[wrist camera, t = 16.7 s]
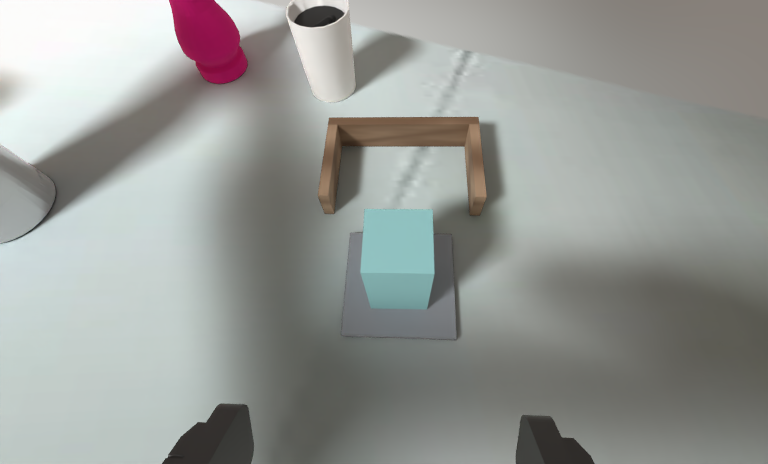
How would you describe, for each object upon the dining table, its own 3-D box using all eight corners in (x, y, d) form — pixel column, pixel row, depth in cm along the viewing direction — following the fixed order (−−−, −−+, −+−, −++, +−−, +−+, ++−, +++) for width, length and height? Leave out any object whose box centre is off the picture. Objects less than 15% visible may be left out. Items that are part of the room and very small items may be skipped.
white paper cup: (362, 69, 48) (353, -11, 39) (355, 106, 45) (343, 29, 36) (313, 67, 49) (293, -11, 40) (303, 103, 46) (278, 27, 37)
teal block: (427, 309, 32) (434, 273, 24) (370, 308, 33) (360, 272, 25) (425, 257, 35) (432, 209, 27) (373, 257, 35) (364, 209, 27)
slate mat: (455, 340, 32) (456, 338, 31) (341, 336, 32) (340, 334, 32) (450, 236, 36) (451, 234, 36) (351, 235, 37) (350, 232, 36)
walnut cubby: (479, 215, 37) (486, 196, 34) (324, 213, 38) (317, 195, 35) (472, 139, 42) (478, 117, 39) (334, 139, 43) (329, 117, 40)
